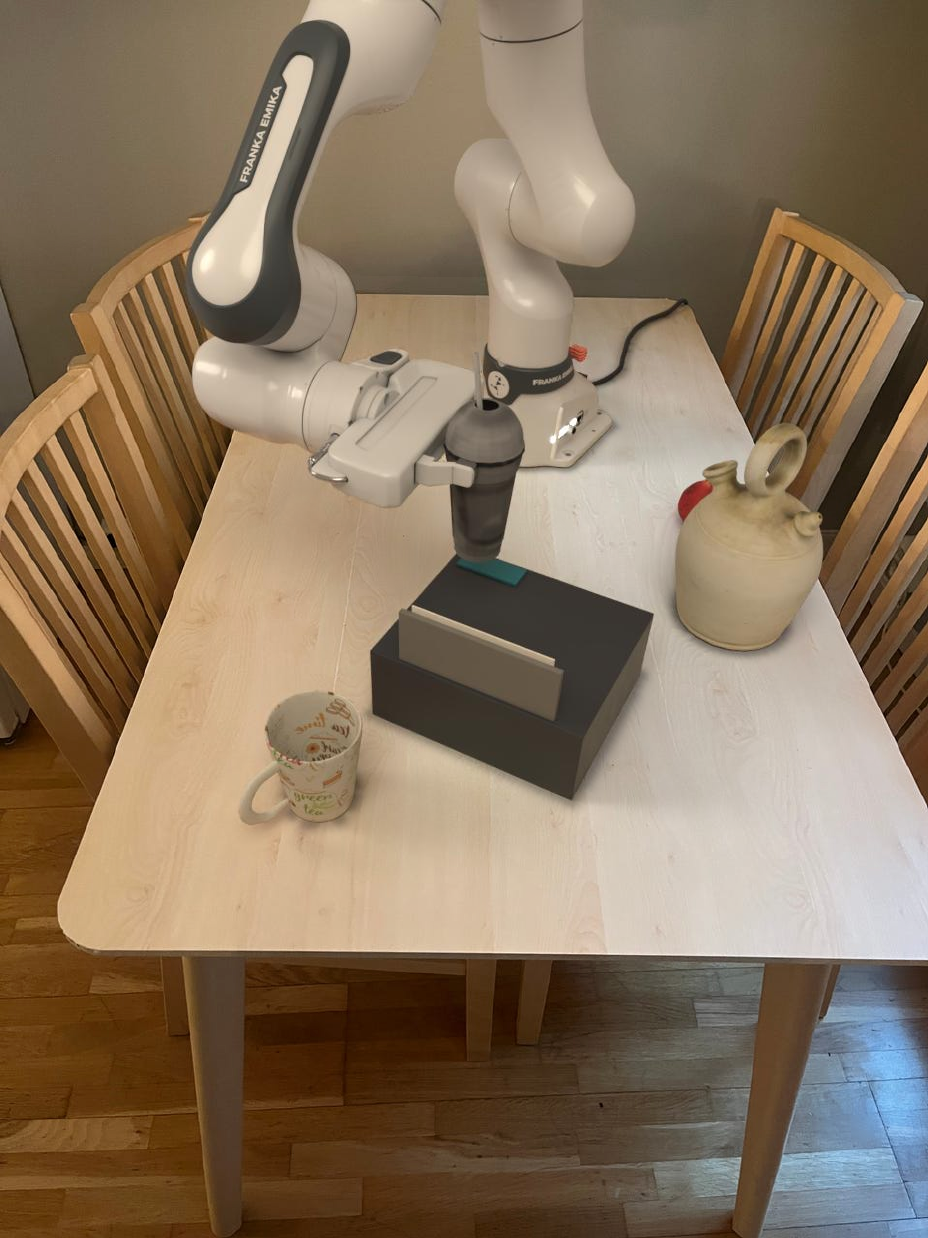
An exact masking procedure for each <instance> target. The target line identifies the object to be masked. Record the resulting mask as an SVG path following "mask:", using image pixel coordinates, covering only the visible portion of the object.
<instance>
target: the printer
mask: <svg viewBox="0 0 928 1238" xmlns="http://www.w3.org/2000/svg"><path fill="white" fill-rule="evenodd" d="M654 617H655V614H654V612H651V611H648V610H645V609H642V608H639V607H636V606H633V605H632V604H631V605H630V604H628V603H625V602H622V601H619V600H617V599H614V598H612V597H608V596H605V595H602V594H599V593H596V592H594V591H591V590H588V589H585V588H582V587H579V586H576V585H573V584H571V583H568V582H565V581H563V580H560V579H557V578H555V577H551V576H548V575H546V574H543V573H539V572H537V571H535V570H531V569H528V568H525V567H523V566H520V565H517V564H514V563H511V562H508V561H506V560H503V559H500V558H497V557H496V558H494V559H493V560H490V561H487V562H471V561H467V560H464V559H463V558H461V557H459V556H458V555H457V554H456V553H455V554H454V555H453V556H452V558H451V559H450V560H449V561H448V562H447V563H446V565H444V567H442V569H441V570H440V571H439V573H438V574H437V575H435V576H434V578H433V579H432V580H431V581H430V583H428V584H427V586H426V587H425V588H424V589H423V591H421V593H420V594H419V595H418V596H417V597H416V598H415V599H414V600H413V602H412V603H410V605H409V606H408V607H407V608H406V609H405V608H400V609H399V610H398V618H397V619H396V620H395V622H394V623H393V624H392V625H391V626H390V628H389V629H388V630H387V631H386V632H385V633H384V634H383V636H381V638H380V639H379V640H378V641H377V642H376V643H375V644H374V645H373V646H372V648H371V649H370V651H369V660H370V680H371V681H370V683H371V684H370V685H371V709H372V711H371V712H372V715H374V716H375V717H378V718H380V719H383V720H385V721H388V722H389V723H392V724H394V725H397V726H399V727H402V728H404V729H406V730H408V731H410V732H413V733H415V734H417V735H419V736H422V737H424V738H427V739H429V740H431V741H433V742H436V743H438V744H440V745H442V746H444V747H447V748H449V749H452V750H455V751H456V752H459V753H461V754H464V755H466V756H469V757H470V758H473V759H475V760H478V761H479V762H482V763H484V764H486V765H489V766H491V767H494V768H496V769H498V770H501V771H503V772H504V773H508V774H509V775H512V776H515V777H516V778H519V779H520V780H523V781H526V782H528V783H530V784H533V785H534V786H537V787H540V788H542V789H545V790H547V791H549V792H551V793H553V794H556V795H558V796H560V797H562V798H565V799H567V800H570V801H572V800H573V799H574V797H575V795H576V793H577V792H578V789H579V788H580V786H581V784H582V783H583V781H584V778H585V777H586V775H587V773H588V772H589V769H590V768H591V766H592V764H593V762H594V760H595V759H596V757H597V755H598V754H599V753H598V752H599V751H600V749H601V747H602V745H603V744H604V742H605V740H606V738H607V737H608V734H609V733H610V731H611V729H612V727H613V725H614V724H615V721H616V720H617V719H618V716H619V714H620V712H621V711H622V709H623V707H624V705H625V703H626V701H627V700H628V698H629V697H630V695H631V693H632V690H633V689H634V687H635V685H636V683H637V681H638V680H639V678H640V676H641V671H642V666H643V663H644V659H645V654H646V651H647V645H648V642H649V638H650V633H651V630H652V629H651V628H652V626H653V625H652V624H653V621H654Z"/></svg>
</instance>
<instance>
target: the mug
mask: <svg viewBox="0 0 928 1238" xmlns="http://www.w3.org/2000/svg"><path fill="white" fill-rule="evenodd" d="M362 736H363V719H362V716H361V713H360V711H359V709H358V707H357V706H356V705H355V704H354V703H353V701H351V700H350V699H348V698H347V697H346V696H344V695H341V694H339V693H336V692H333V691H328V690H320V689H319V690H307V691H302V692H298V693H294V694H293V695H289V696H288V697H287V698H284V699H283V700H281V701H280V702H279V703H277V705H275V707H273V709H272V710H271V711H270V712H269V714H268V716H267V718H266V721H265V724H264V737H265V742H266V746H267V748H268V750H269V751H268V752H269V754H270V756H271V759H272V762H270V763H269V764H267V765H266V766H265V767H264V768H262V769H260V770H259V771H257V773H256V774H254V775H253V776H252V778H251V779H250V780H249V782H248V783H247V784H246V786H245V788H244V790H243V792H242V794H241V796H240V800H239V803H238V816H239V819H240V820H241V822H242V823H244V824H245V825H248V826H256V825H260V824H266V823H268V822H270V821H271V820H273V819H274V818H275V817H277V816H278V815H279V814H280V813H282V811H284V809H286V808H287V806H289V807H290V809H291V810H292V812H293V813H294V814H295V815H296V816H298V817H299V818H300V819H302V820H305V821H307V822H311V823H325V822H329V821H333V820H335V819H337V818H339V817H340V816H342V815H343V814H344V813H345V812H346V811H348V810H349V808H350V806H351V805H352V802H353V799H354V795H355V788H356V782H357V774H358V773H357V772H358V767H359V759H360V752H361V751H360V750H361V743H362ZM275 774H277V776H278V778H279V781H280V783H281V786H282V789H283V792H284V795H285V797H286V798H284V799H282V800H281V801H279V802H278V803H276V804H275V805H274V806H272V807H271V808H269V809H268V810H266V811H264V812H261V813H260V812H259V813H258V812H255V811H254V810H253V807H252V806H253V800H254V798H255V796H256V794H257V792H258V791H259V789H260V788H261V786H262V785H263V784H264V783H266V781H268V780H269V779H270V778H272V777H273V776H274V775H275Z"/></svg>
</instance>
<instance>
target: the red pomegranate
mask: <svg viewBox="0 0 928 1238" xmlns="http://www.w3.org/2000/svg"><path fill="white" fill-rule="evenodd" d="M712 490H713V486H712V485H711V484H710V483H709V481H708V480H707V479H706V478H705V479H703V480H698V481H695V482H693V483H691V484H690V485H689V486H687V487H686V488H685V489H684V490H683V492H682V493H681V495H680V497H679V499H678V503H677V512H678V515H679V517H680V519H681V521H682V523H684V521H685V519H686V517H687V516H688V515H689V513H690V512H691V511H692V509H693V508H694V507H695V506H696V505H697V504H698V503H699V502H700V501H701V500H702V499H703V498H705V497H706V496H707V495H709V494H710V493H711V492H712Z"/></svg>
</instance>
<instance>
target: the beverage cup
mask: <svg viewBox="0 0 928 1238" xmlns="http://www.w3.org/2000/svg"><path fill="white" fill-rule="evenodd" d="M472 359H473V371H474V374H475V389H476V399H475V400H472V401H470V402H468V403H466V404H464V405H463V406H461V407H460V408H459V409H458V410H457V412H456V413H455V414H454V415H453V417H452V418H451V420H450V422H449V424H448V427H447V431H446V435H445V438H444V444H443V447H444V449H445V454H444V455H445V460H446V461H445V462H457V461H458V459H459V458H462V459H466V460H468V461H473V462H475V463H477V464H478V472H477V473H478V477H477V479H476V480H475V481H474V483H473V484H472V485H471V486H470V487H468V488H467V487H463V486H459V485H456V484H449V497H450V498H449V499H450V513H451V515H450V516H451V531H452V539H453V546H454V547H453V550H454V552H455V554H457V555H458V556H459V557H461V558H463V559H464V560H467V561H471V562H487V561H490V560H493V559H494V558H497V557H498V556H499V555H500V553H501V547H502V544H503V541H504V538H505V534H506V528H507V524H508V517H509V513H510V508H511V502H512V498H513V492H514V489H515V483H516V477H517V473H518V471H519V469H520V467H519V466H520V463H521V460H522V455H523V453H524V452H525V442H524V434H523V428H522V425H521V423H520V421H519V419H518V417H517V416H516V414H515V413H514V411H513V410H512V409H511V408H509V407H508V406H507V405H506V404H504V403H502V402H500V401H498V400H495V399H491V398H482V389H481V374H482V373H481V362H480V361H481V360H480V352H479V351H474V352H473V354H472Z"/></svg>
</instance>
